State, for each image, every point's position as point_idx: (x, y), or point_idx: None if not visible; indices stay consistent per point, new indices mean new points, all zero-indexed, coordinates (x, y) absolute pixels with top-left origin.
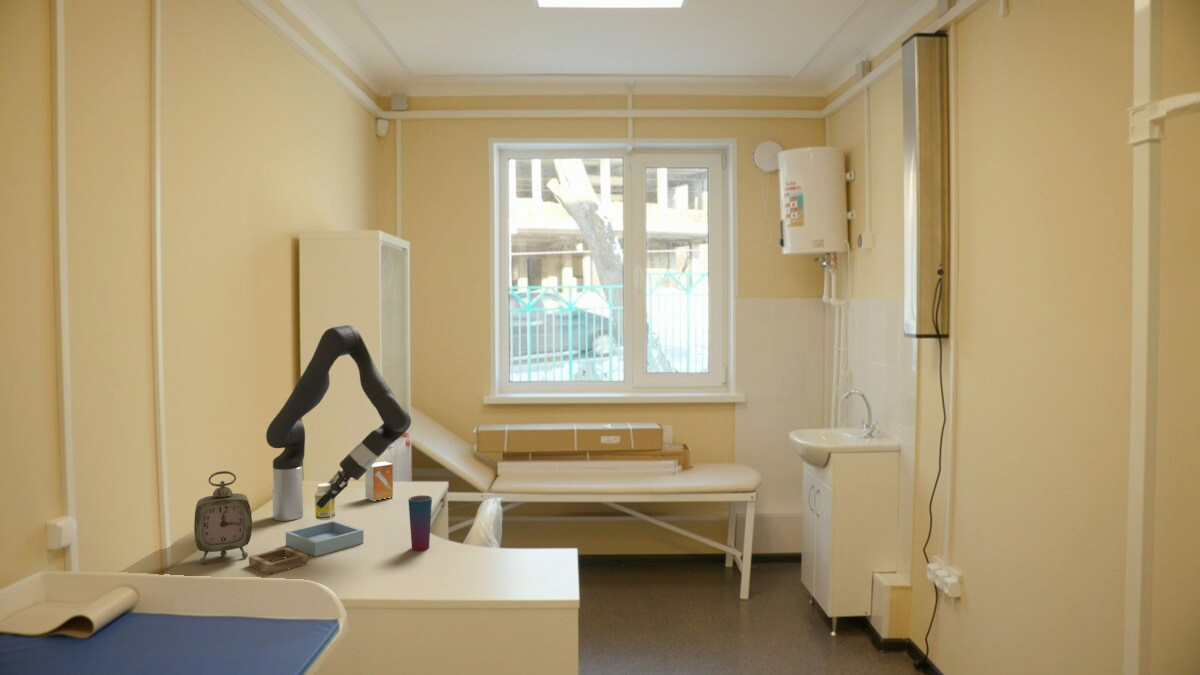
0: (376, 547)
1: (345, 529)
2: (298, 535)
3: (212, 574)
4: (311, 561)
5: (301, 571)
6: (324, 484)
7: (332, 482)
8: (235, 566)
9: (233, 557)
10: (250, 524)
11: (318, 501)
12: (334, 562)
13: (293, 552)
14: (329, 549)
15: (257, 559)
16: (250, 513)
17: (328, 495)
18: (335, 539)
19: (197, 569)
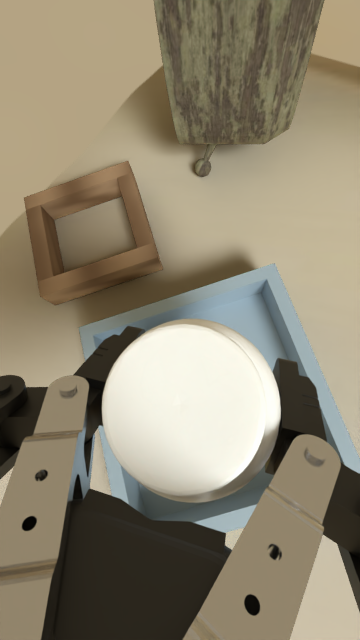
0: None
1: (239, 503)
2: (204, 295)
3: (123, 112)
4: (67, 319)
5: (9, 280)
6: (195, 407)
7: (48, 491)
8: (149, 153)
9: (227, 151)
10: (168, 86)
11: (121, 335)
12: (16, 374)
13: (87, 266)
14: None
15: (90, 177)
16: (159, 32)
17: (33, 393)
18: None
19: None
